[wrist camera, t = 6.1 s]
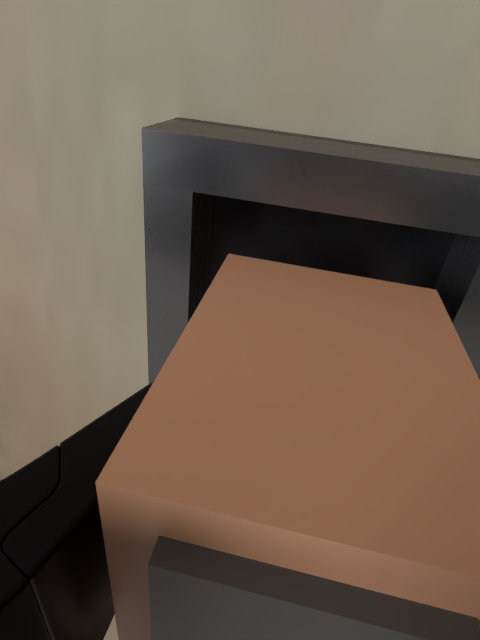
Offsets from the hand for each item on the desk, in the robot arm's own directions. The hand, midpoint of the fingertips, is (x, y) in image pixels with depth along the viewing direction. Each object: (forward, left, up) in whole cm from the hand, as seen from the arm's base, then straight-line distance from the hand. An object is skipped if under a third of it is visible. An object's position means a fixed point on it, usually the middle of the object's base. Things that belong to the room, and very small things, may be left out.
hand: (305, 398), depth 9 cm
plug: (0, 0, -2) cm, 2 cm away
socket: (0, 0, -5) cm, 5 cm away
